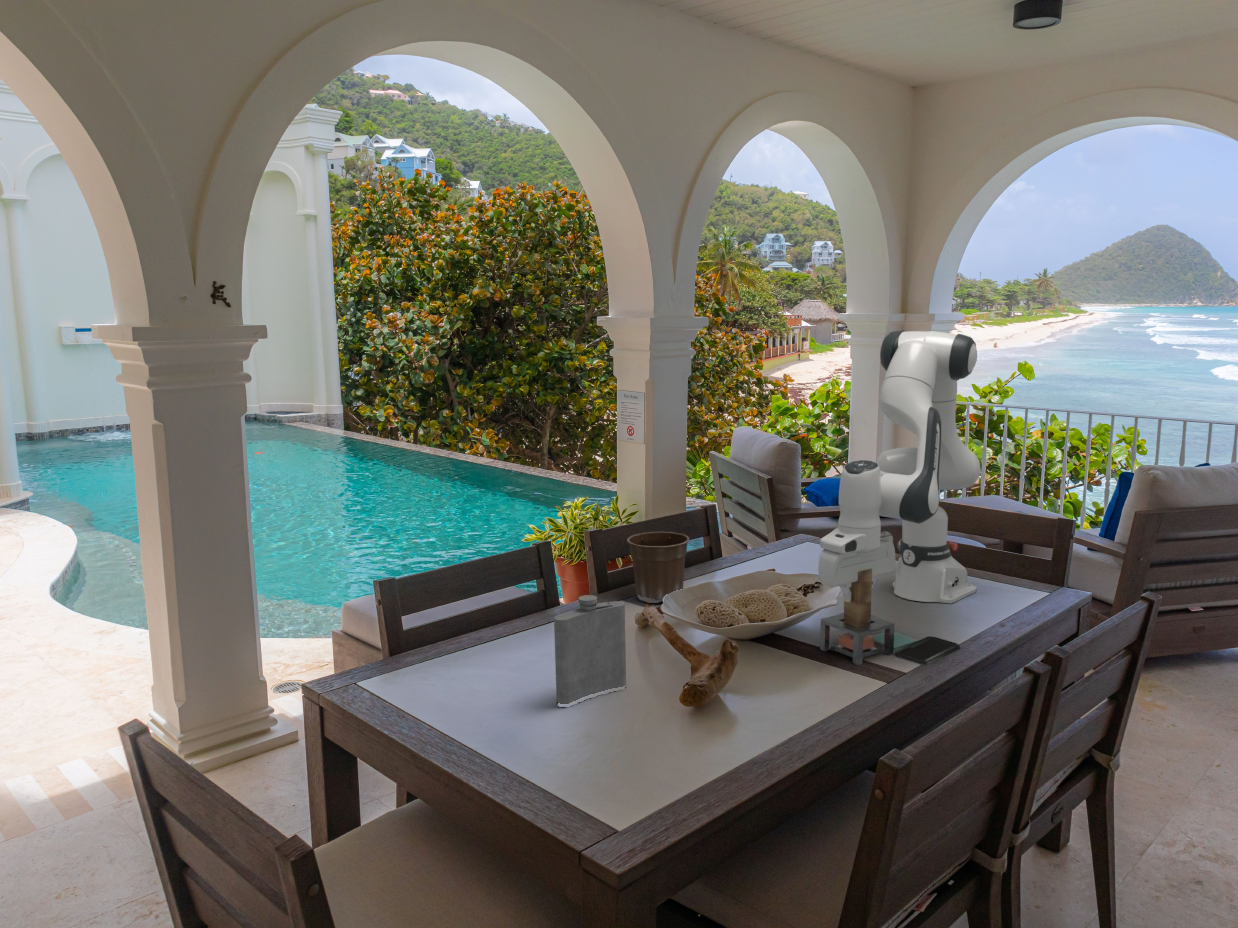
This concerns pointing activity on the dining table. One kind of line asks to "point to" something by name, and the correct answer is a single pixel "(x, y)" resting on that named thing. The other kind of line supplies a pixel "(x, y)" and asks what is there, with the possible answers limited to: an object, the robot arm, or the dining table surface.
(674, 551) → the plant pot
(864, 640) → the salmon pink panel
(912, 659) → the phone
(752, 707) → the dining table surface
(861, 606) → the peg
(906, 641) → the mat
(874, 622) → the frame
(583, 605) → the hip flask
